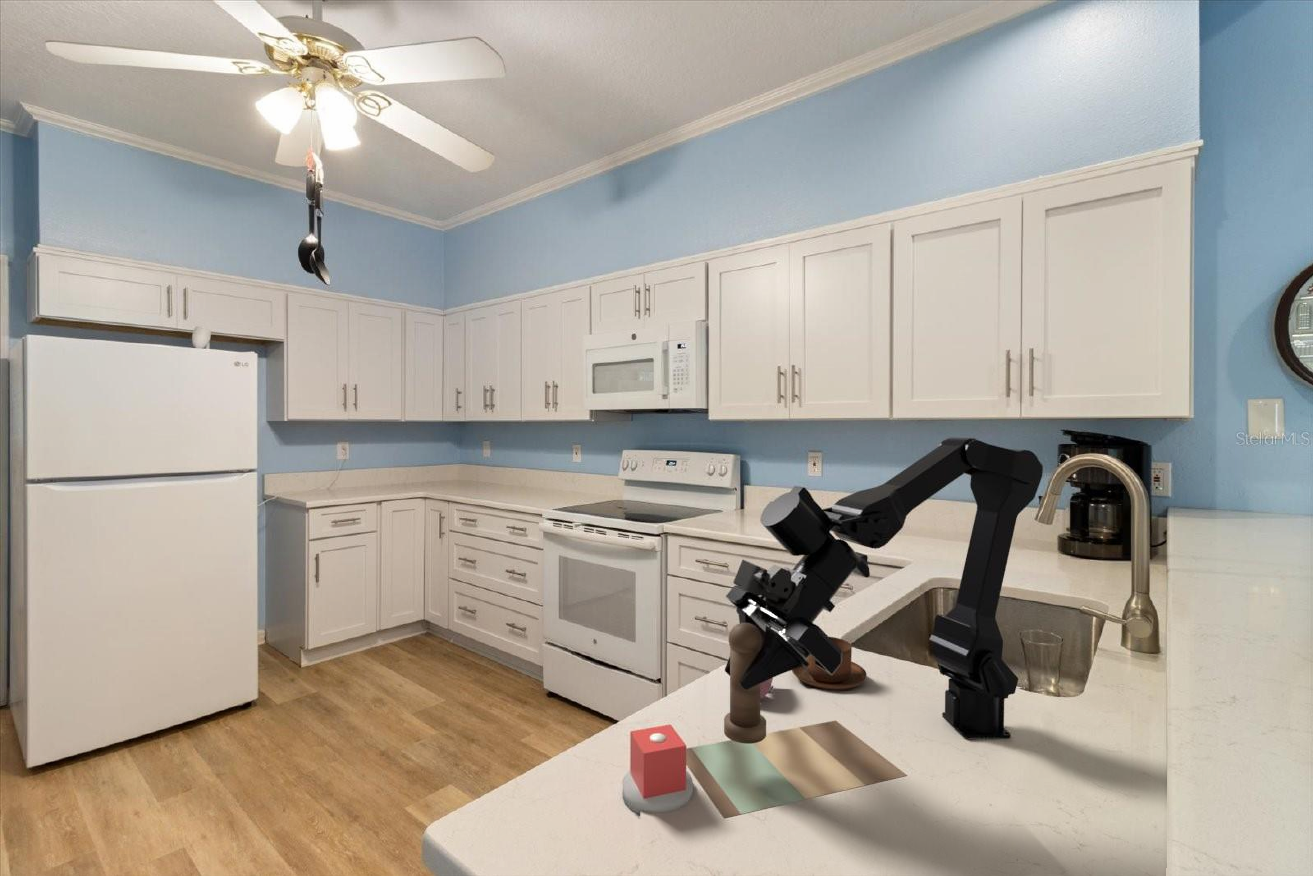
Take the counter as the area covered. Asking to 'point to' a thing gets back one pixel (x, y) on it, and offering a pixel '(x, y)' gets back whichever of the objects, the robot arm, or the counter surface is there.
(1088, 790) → the counter surface
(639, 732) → the die stand
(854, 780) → the game track
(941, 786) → the counter surface
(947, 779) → the counter surface
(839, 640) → the cup and saucer
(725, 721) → the pawn
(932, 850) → the counter surface
